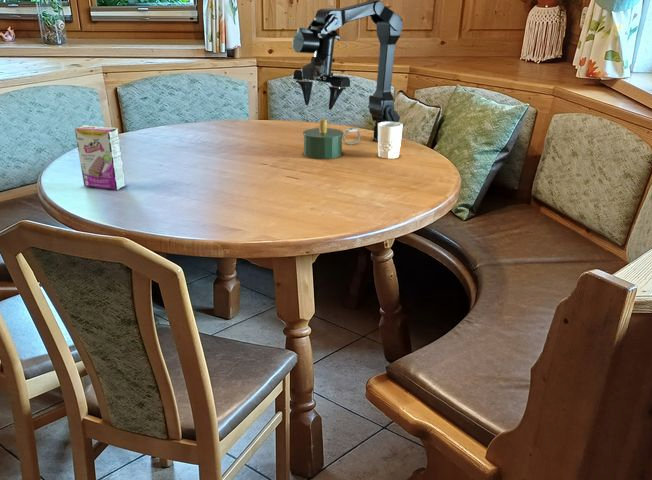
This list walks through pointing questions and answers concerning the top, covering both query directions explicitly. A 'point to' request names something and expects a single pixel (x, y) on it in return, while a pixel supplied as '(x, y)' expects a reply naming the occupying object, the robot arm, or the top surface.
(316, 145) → the tin
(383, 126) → the white cup
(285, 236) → the top surface
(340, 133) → the tin lid
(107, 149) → the candy bar box
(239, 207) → the top surface
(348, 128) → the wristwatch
